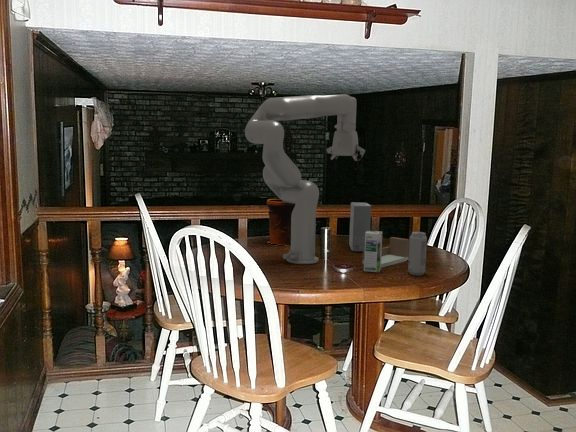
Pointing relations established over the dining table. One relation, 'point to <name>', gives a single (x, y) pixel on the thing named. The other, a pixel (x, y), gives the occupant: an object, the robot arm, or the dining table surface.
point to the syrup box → (373, 251)
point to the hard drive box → (359, 225)
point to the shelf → (390, 260)
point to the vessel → (280, 221)
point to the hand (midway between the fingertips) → (344, 170)
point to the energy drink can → (417, 253)
